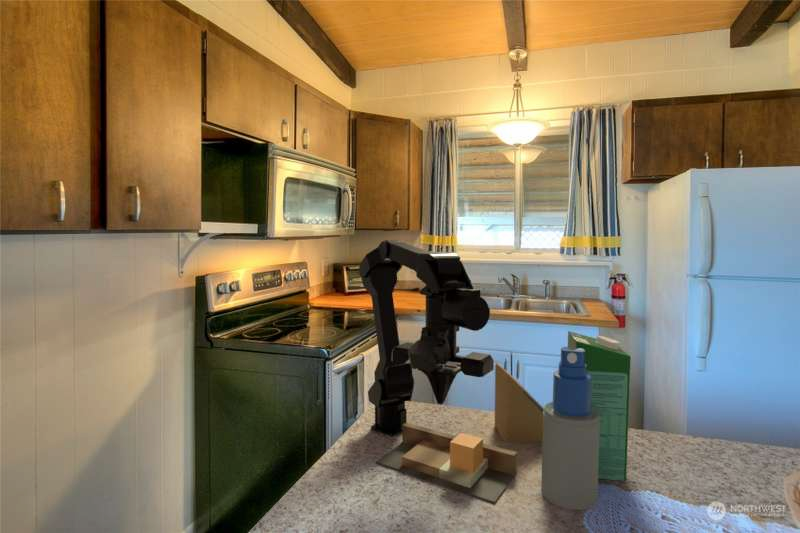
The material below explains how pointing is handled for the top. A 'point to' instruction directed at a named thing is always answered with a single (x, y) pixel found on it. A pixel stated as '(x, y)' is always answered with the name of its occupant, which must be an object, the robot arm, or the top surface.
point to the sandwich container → (516, 410)
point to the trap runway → (431, 461)
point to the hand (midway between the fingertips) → (440, 403)
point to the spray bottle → (571, 436)
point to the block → (466, 452)
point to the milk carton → (608, 399)
